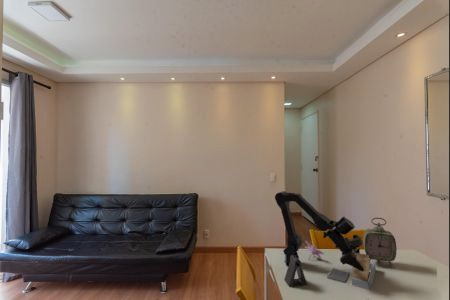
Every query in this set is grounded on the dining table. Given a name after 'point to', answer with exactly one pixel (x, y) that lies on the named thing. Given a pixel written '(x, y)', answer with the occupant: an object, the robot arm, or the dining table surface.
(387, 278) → the dining table surface
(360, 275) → the oak block
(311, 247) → the lily
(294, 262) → the phone stand
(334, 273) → the rubber mat
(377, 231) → the tabletop clock
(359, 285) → the shelf
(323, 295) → the dining table surface
